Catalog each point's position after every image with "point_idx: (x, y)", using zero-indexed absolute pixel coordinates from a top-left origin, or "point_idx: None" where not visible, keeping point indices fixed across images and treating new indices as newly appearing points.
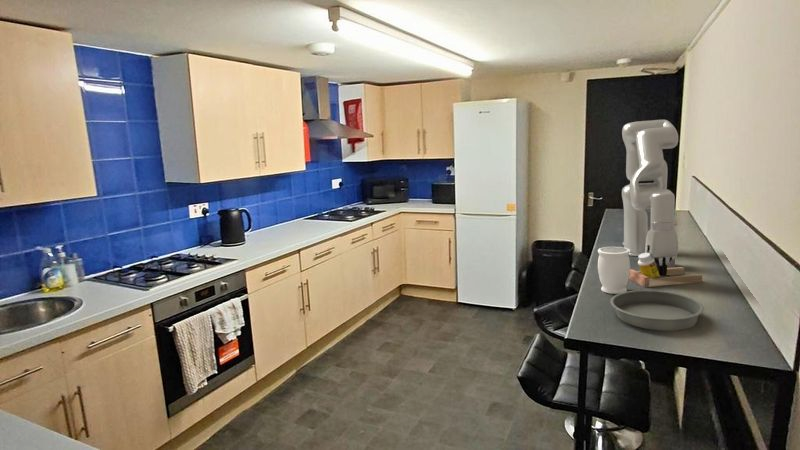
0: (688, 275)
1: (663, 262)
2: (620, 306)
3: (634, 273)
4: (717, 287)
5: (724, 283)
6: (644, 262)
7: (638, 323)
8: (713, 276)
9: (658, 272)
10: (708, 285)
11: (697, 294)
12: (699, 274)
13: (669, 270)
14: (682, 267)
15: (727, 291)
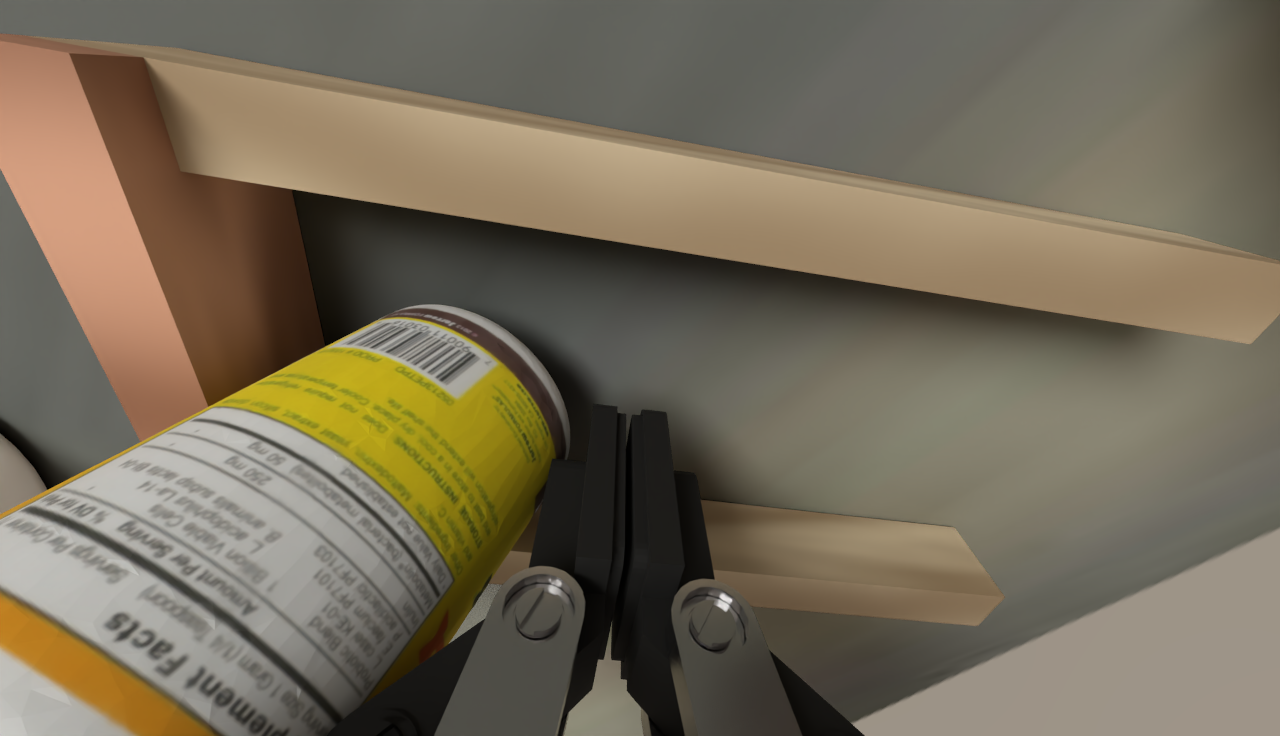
0: (855, 594)
1: (650, 683)
2: None
3: (118, 347)
4: (869, 655)
5: (1013, 623)
6: None
7: None
8: (1216, 487)
9: (521, 533)
10: (868, 617)
11: (619, 690)
12: (983, 606)
13: (968, 292)
14: (1265, 313)
15: (833, 703)
